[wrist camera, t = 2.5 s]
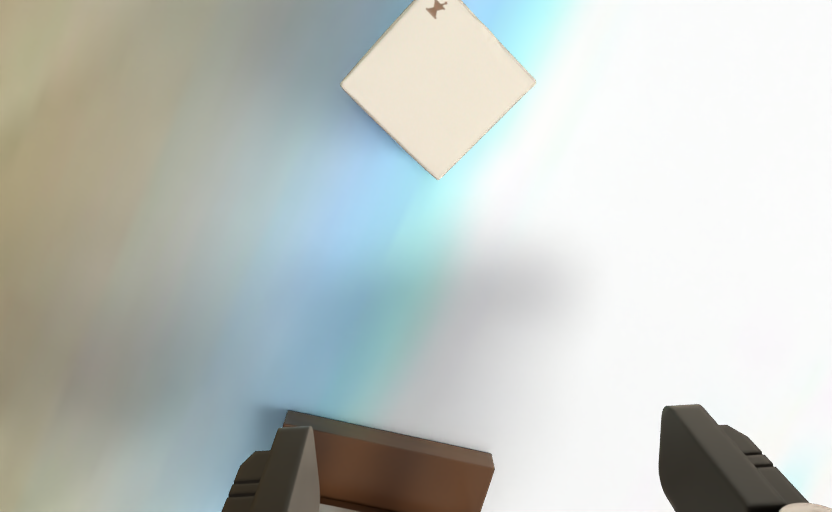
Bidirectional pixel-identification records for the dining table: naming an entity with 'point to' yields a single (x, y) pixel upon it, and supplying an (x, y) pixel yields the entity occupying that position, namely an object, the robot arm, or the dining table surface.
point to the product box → (437, 82)
